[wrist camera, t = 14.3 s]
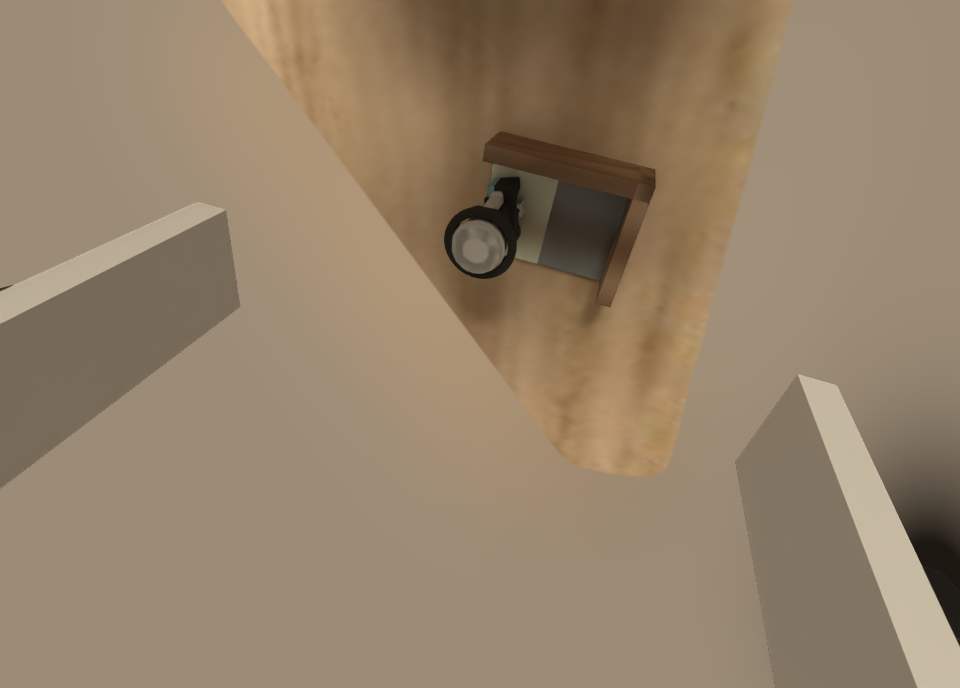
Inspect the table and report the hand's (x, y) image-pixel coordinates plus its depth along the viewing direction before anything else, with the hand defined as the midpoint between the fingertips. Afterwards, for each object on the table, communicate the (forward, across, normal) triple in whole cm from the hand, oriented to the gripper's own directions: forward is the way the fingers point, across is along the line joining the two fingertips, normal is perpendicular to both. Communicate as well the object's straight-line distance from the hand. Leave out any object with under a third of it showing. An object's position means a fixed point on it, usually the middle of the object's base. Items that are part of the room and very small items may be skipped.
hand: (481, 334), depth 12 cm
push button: (+32, -5, -10) cm, 34 cm away
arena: (+33, -1, -9) cm, 34 cm away
